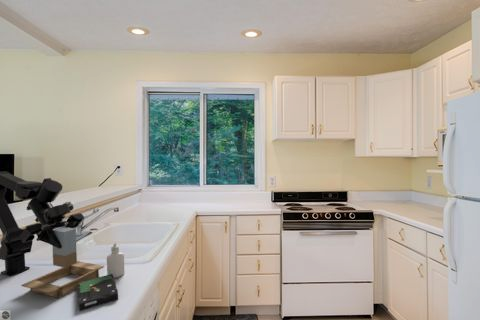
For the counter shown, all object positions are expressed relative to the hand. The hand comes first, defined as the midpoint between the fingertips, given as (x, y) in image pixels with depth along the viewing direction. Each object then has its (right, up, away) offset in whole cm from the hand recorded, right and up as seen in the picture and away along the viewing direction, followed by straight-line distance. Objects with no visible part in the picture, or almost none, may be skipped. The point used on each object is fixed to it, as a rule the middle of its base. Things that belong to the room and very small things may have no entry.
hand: (67, 245), depth 88 cm
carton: (-1, -13, +1) cm, 13 cm away
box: (-1, -7, +1) cm, 7 cm away
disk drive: (+14, -14, -6) cm, 20 cm away
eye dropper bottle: (+14, -13, +6) cm, 20 cm away
